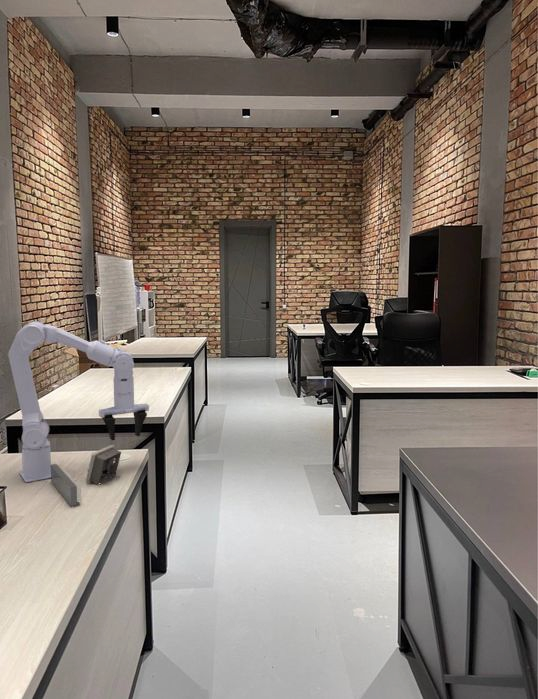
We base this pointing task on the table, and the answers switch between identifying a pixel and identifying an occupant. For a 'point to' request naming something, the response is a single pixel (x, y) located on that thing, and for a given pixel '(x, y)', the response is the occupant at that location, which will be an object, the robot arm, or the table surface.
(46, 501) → the table surface
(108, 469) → the electrical switch
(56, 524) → the table surface
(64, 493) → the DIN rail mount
